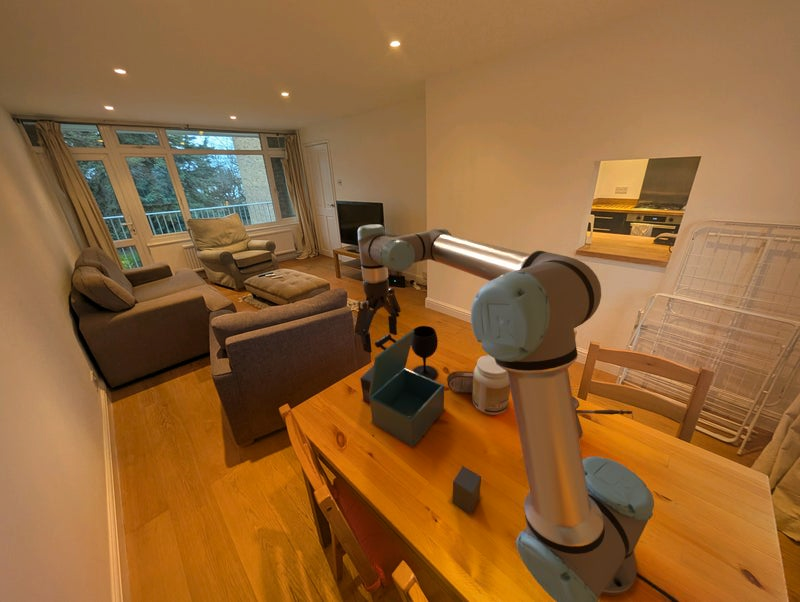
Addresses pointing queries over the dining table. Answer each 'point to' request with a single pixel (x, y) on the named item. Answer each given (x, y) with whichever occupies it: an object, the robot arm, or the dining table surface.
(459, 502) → the block
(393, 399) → the teal open box
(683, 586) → the dining table surface
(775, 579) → the dining table surface
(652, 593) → the dining table surface
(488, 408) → the supplement tub
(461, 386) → the tin
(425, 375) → the wine glass
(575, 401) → the coffee pot
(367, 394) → the small box
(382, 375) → the lid
